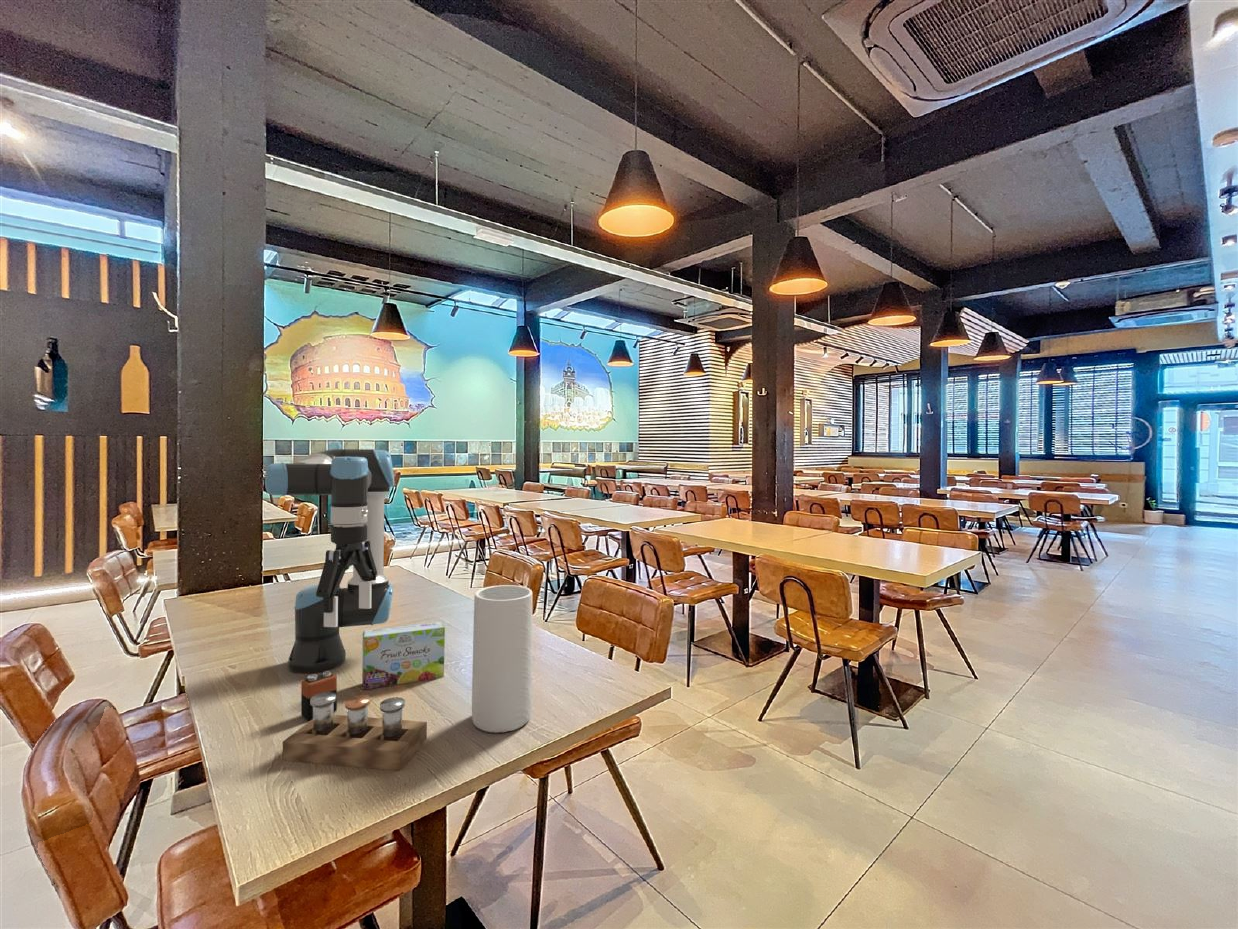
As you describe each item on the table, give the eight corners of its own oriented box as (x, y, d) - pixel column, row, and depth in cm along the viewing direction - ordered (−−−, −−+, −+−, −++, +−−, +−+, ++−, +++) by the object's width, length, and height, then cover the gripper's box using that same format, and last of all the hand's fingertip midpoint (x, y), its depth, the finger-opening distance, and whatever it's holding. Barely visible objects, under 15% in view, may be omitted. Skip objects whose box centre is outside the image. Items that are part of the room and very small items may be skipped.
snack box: (363, 691, 146) (363, 636, 146) (362, 683, 151) (362, 630, 151) (444, 677, 156) (445, 626, 155) (441, 670, 161) (441, 620, 160)
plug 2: (375, 737, 116) (375, 707, 116) (387, 725, 121) (387, 696, 121) (397, 739, 115) (397, 709, 115) (408, 727, 120) (409, 698, 120)
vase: (476, 740, 124) (478, 603, 123) (467, 711, 137) (469, 587, 136) (537, 728, 130) (540, 597, 128) (523, 701, 143) (525, 582, 141)
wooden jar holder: (282, 760, 114) (282, 741, 114) (319, 730, 126) (319, 713, 126) (400, 770, 112) (400, 751, 112) (426, 739, 124) (426, 722, 124)
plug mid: (339, 734, 117) (339, 704, 116) (353, 722, 122) (353, 694, 121) (361, 736, 116) (361, 706, 116) (374, 724, 121) (374, 695, 121)
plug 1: (305, 731, 118) (305, 702, 117) (320, 719, 122) (320, 691, 122) (326, 733, 117) (326, 703, 117) (340, 721, 122) (341, 693, 122)
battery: (300, 716, 133) (300, 676, 132) (329, 706, 138) (329, 667, 137) (308, 722, 130) (308, 681, 129) (337, 711, 135) (337, 672, 135)
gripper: (331, 533, 111) (331, 636, 111) (392, 517, 136) (391, 602, 136) (296, 532, 111) (296, 634, 112) (363, 517, 136) (363, 600, 137)
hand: (348, 617), depth 124 cm, fingers open, 13 cm apart
